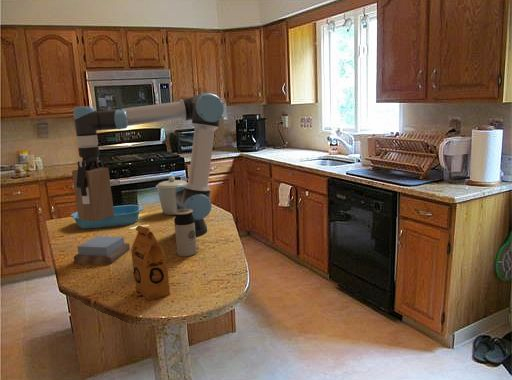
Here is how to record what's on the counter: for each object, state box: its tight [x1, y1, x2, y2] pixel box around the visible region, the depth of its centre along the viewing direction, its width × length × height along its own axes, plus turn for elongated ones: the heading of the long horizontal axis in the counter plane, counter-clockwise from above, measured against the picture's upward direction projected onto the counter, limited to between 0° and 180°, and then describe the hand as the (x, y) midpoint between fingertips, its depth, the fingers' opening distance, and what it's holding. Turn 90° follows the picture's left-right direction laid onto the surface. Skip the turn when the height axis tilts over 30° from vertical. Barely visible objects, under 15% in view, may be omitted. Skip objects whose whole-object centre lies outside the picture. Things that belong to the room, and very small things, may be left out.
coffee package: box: [130, 224, 171, 301], centre depth 136 cm, size 10×12×22 cm
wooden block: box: [71, 167, 114, 221], centre depth 169 cm, size 10×10×20 cm
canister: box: [155, 175, 188, 216], centre depth 237 cm, size 18×18×21 cm
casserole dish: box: [70, 204, 145, 230], centre depth 225 cm, size 37×22×7 cm, turn 104°
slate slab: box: [76, 236, 125, 256], centre depth 174 cm, size 13×13×4 cm
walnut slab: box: [73, 242, 131, 265], centre depth 174 cm, size 16×16×4 cm
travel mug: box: [173, 209, 198, 257], centre depth 171 cm, size 8×8×18 cm
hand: (95, 200), depth 170 cm, fingers closed on wooden block, 12 cm apart
